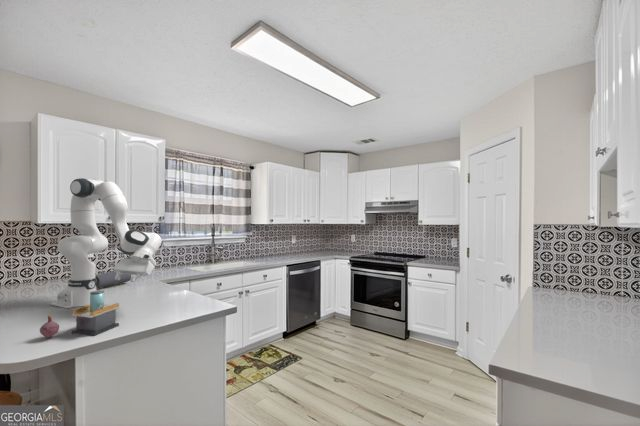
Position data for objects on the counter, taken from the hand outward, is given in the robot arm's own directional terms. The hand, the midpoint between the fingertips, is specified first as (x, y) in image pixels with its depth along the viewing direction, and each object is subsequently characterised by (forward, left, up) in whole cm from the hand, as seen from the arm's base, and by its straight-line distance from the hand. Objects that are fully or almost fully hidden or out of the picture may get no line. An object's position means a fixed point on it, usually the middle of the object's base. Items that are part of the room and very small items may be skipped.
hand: (124, 280), depth 151 cm
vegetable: (-7, -29, -19) cm, 35 cm away
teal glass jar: (+2, -17, -9) cm, 19 cm away
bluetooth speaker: (-57, +49, -19) cm, 77 cm away
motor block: (+1, -17, -18) cm, 25 cm away
